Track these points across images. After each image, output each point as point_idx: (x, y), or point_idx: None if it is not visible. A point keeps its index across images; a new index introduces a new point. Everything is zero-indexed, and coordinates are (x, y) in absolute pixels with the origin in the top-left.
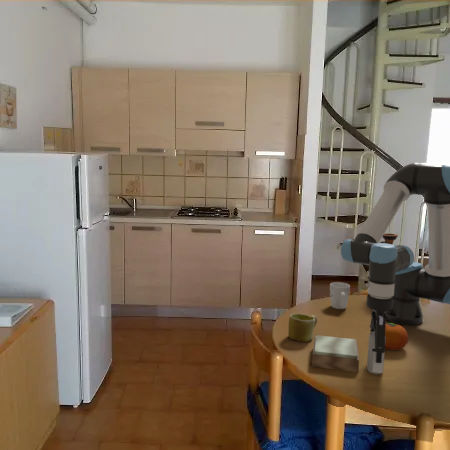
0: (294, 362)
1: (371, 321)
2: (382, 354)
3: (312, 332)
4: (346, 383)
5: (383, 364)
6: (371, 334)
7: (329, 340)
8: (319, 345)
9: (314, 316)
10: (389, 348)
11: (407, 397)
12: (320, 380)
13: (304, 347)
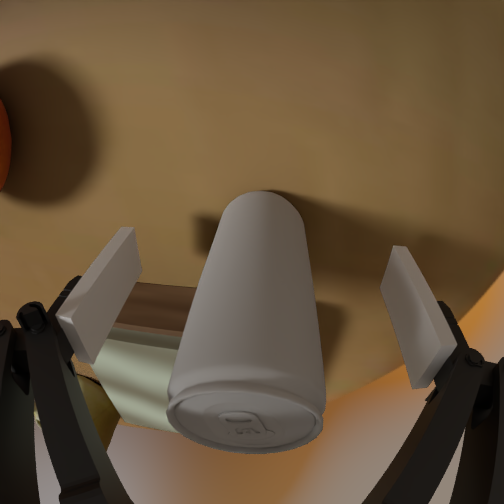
0: None
1: (33, 422)
2: (446, 334)
3: None
4: (382, 334)
5: (276, 213)
6: (248, 445)
7: (146, 407)
8: None
9: None
10: (11, 143)
11: (492, 137)
12: (358, 385)
13: None
